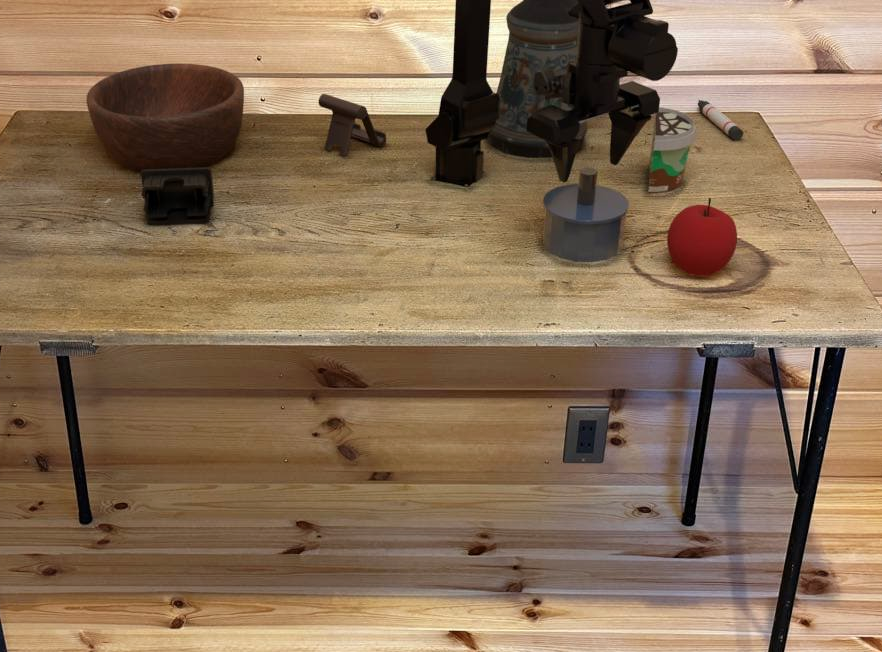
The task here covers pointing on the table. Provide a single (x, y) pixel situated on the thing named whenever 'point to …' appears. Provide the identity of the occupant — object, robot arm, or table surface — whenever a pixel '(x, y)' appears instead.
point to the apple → (701, 240)
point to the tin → (583, 239)
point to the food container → (669, 149)
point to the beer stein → (533, 72)
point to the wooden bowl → (167, 115)
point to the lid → (586, 201)
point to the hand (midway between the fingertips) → (588, 172)
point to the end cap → (177, 195)
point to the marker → (720, 120)
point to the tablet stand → (349, 124)
